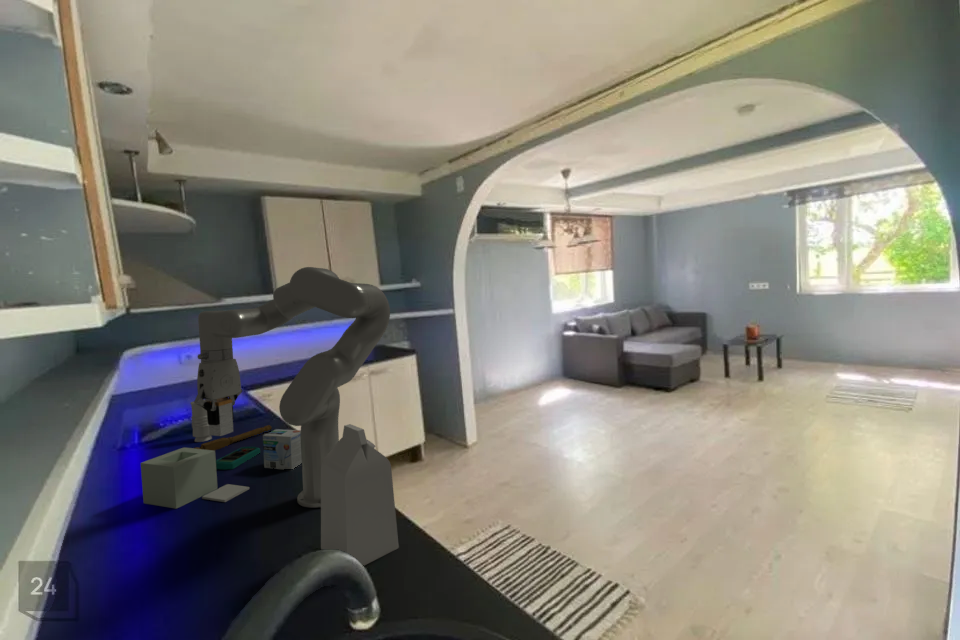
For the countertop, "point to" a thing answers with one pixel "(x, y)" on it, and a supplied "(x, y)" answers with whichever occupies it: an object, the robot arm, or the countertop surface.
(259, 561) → the countertop surface
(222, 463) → the digital multimeter
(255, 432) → the tap handle
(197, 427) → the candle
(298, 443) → the light bulb box
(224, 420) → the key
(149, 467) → the grey hollow block
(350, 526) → the milk
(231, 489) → the mat
